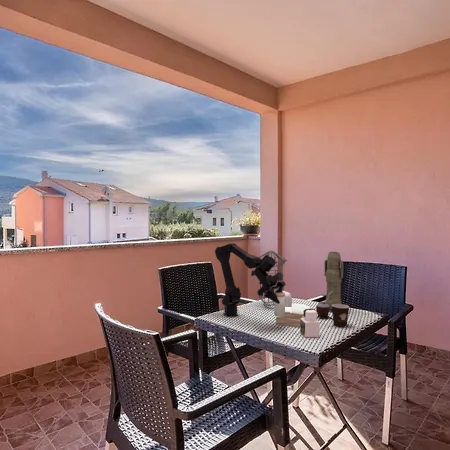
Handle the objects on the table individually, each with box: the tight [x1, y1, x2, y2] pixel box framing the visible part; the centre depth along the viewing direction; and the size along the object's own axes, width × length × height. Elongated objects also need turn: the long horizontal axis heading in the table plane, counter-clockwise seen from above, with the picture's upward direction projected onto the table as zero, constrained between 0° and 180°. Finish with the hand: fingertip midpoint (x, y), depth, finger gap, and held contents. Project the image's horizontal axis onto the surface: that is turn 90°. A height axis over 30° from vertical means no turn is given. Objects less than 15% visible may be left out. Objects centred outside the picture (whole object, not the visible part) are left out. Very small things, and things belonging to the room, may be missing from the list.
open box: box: [275, 312, 303, 328], centre depth 188 cm, size 13×13×4 cm
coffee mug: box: [325, 303, 350, 328], centre depth 185 cm, size 12×9×10 cm
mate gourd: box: [315, 291, 333, 320], centre depth 199 cm, size 8×8×15 cm
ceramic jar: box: [273, 292, 285, 317], centre depth 178 cm, size 5×5×11 cm
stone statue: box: [323, 251, 345, 314], centre depth 213 cm, size 9×12×35 cm
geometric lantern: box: [258, 250, 288, 309], centre depth 222 cm, size 16×16×35 cm
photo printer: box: [282, 290, 293, 308], centre depth 209 cm, size 10×4×12 cm, turn 39°
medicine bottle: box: [299, 308, 321, 338], centre depth 168 cm, size 7×7×12 cm
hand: (281, 302), depth 177 cm, fingers closed on ceramic jar, 5 cm apart
